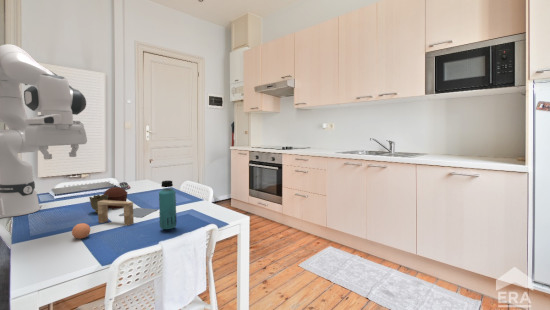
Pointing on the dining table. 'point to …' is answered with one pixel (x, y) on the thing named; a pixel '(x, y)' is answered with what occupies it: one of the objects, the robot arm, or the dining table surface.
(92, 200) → the cup
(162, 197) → the beverage bottle
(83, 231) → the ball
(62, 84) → the robot arm
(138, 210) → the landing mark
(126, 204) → the bridge
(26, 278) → the dining table surface
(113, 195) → the muffin
